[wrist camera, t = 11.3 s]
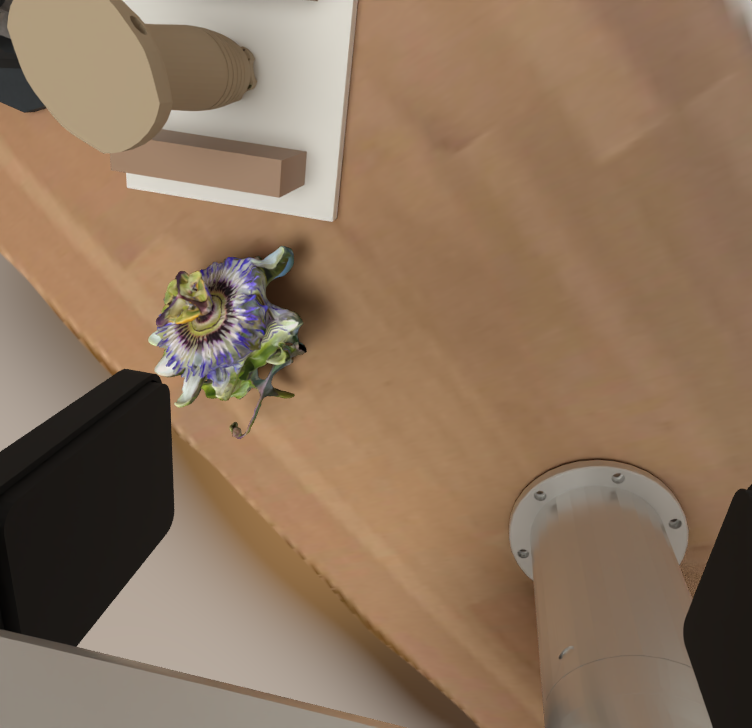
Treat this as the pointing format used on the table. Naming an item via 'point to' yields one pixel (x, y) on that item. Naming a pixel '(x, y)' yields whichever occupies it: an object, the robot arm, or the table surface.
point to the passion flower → (227, 330)
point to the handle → (122, 68)
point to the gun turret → (13, 71)
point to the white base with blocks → (258, 110)
